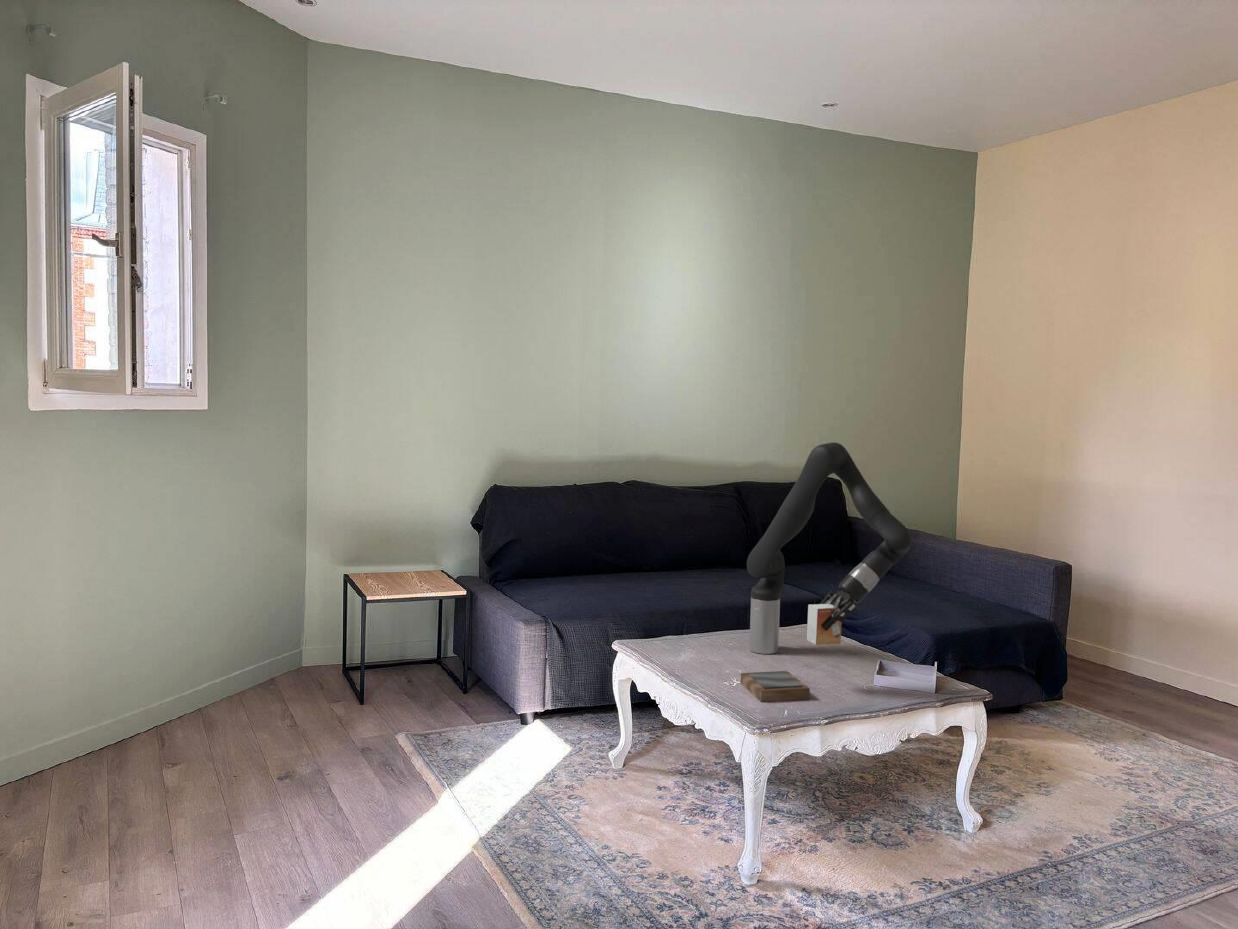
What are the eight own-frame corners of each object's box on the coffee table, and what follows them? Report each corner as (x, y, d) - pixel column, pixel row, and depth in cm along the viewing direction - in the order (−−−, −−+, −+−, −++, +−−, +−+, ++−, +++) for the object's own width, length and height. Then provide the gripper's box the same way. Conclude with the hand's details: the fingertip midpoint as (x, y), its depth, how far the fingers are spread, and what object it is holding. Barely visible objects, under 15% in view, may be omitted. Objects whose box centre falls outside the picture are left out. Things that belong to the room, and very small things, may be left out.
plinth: (740, 683, 269) (740, 671, 269) (786, 681, 272) (786, 669, 272) (760, 701, 254) (761, 689, 253) (809, 699, 257) (809, 686, 256)
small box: (815, 645, 262) (816, 608, 261) (806, 640, 268) (807, 604, 267) (841, 644, 265) (842, 607, 264) (831, 638, 270) (833, 602, 269)
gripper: (839, 568, 273) (799, 610, 271) (862, 579, 259) (821, 623, 257) (855, 586, 275) (816, 627, 273) (879, 597, 261) (838, 641, 259)
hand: (818, 625), depth 265 cm, fingers closed on small box, 5 cm apart
